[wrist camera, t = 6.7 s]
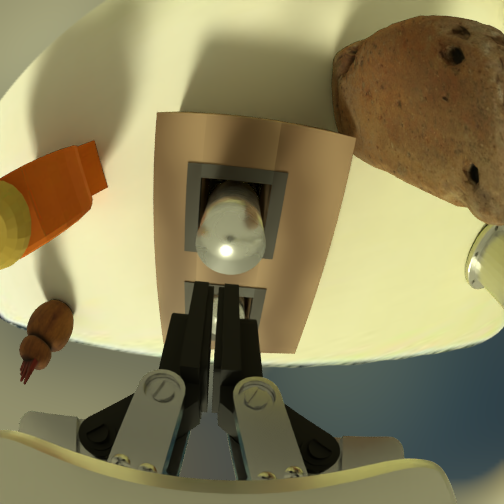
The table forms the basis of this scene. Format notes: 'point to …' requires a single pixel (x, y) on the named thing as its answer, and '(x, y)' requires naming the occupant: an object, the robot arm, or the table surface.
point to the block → (429, 108)
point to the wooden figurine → (45, 336)
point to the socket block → (271, 207)
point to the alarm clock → (46, 199)
